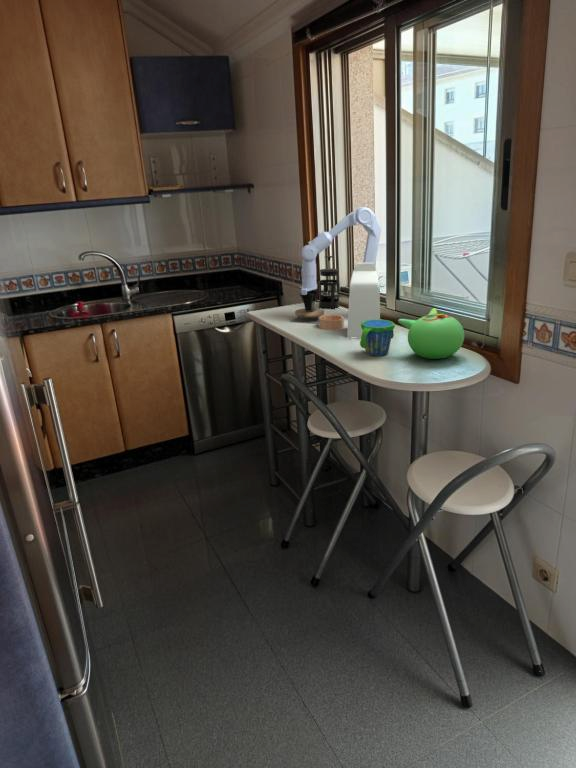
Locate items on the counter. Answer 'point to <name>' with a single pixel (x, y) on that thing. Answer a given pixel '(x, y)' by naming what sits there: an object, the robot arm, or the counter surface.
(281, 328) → the counter surface
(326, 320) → the bowl
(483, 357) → the counter surface
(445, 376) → the counter surface
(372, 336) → the snack cup
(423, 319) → the green teapot
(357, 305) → the milk
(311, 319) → the mat
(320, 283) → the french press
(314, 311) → the lid
